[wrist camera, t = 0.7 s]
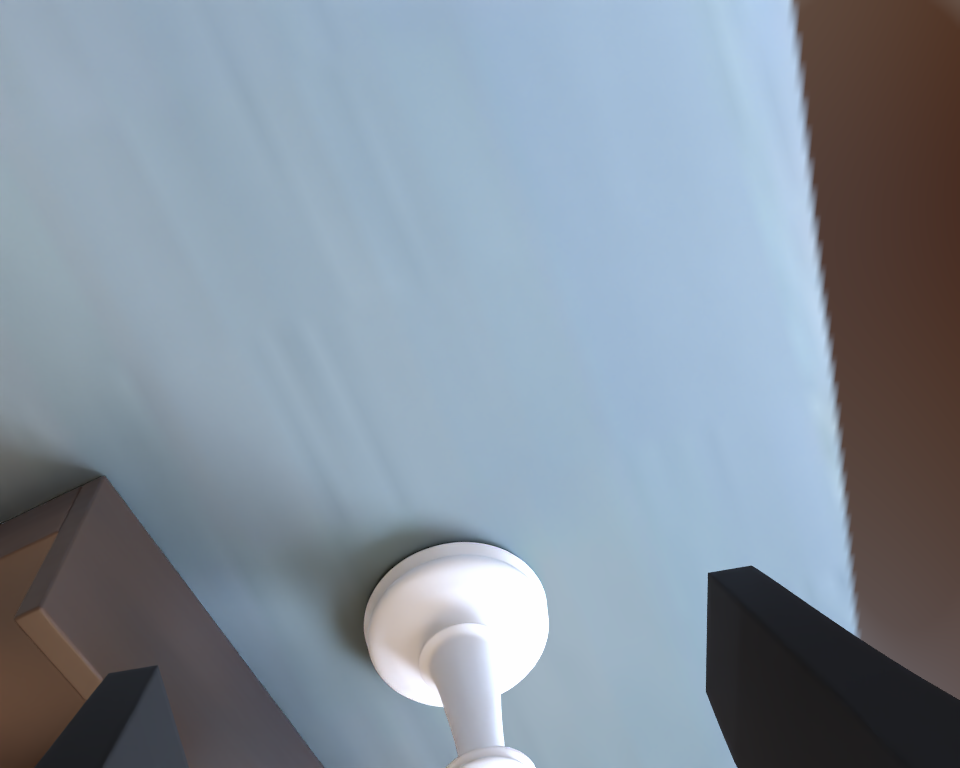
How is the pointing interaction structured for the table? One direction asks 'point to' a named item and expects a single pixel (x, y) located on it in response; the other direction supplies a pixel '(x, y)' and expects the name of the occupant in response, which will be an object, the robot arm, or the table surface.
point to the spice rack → (119, 638)
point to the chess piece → (460, 639)
